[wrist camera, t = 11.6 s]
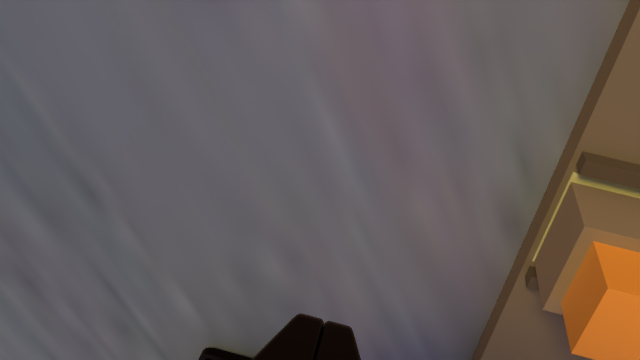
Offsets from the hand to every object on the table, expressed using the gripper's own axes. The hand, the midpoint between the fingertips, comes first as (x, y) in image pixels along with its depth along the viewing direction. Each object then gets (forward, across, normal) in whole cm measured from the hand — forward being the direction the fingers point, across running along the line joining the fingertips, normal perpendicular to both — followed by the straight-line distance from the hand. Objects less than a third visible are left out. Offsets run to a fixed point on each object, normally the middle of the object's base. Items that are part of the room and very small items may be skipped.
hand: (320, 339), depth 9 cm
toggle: (+11, -7, +4) cm, 14 cm away
